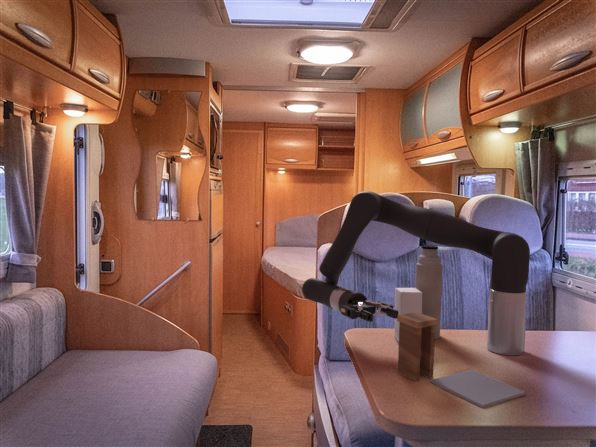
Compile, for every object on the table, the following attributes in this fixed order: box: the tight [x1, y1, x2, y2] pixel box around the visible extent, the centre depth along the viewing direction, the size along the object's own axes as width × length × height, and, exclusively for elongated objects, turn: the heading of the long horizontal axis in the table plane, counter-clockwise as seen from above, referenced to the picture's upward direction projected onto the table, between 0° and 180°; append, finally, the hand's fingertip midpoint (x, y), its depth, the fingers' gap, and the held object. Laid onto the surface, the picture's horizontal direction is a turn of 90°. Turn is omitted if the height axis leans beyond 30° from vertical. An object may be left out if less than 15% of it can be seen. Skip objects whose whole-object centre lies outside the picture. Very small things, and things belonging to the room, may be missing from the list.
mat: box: [430, 369, 526, 409], centre depth 101 cm, size 14×14×1 cm
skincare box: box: [394, 287, 422, 344], centre depth 132 cm, size 8×7×16 cm
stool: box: [397, 313, 438, 382], centre depth 107 cm, size 6×7×14 cm
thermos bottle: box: [414, 244, 444, 340], centre depth 139 cm, size 8×8×28 cm
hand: (384, 316), depth 117 cm, fingers open, 8 cm apart
